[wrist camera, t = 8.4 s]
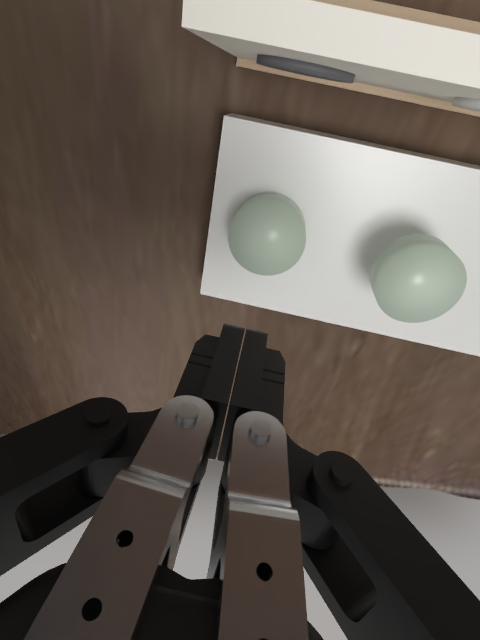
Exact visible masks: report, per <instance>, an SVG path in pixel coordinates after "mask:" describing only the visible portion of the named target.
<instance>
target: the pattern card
mask: <svg viewBox="0 0 480 640" xmlns="http://www.w3.org/2000/svg"><path fill="white" fill-rule="evenodd" d="M181 27H183V28H185V29H187V30H188V31H190V32H192V33H194V34H196V35H197V36H199V37H201V38H203V39H205V40H206V41H208V42H210V43H212V44H214V45H216V46H217V47H219V48H221V49H223V50H225V51H226V52H228V53H230V54H232V55H234V56H235V57H237V63H236V66H238V67H242V68H247V69H252V70H256V71H261V72H266V73H271V74H275V75H280V76H285V77H290V78H295V79H299V80H304V81H309V82H314V83H318V84H323V85H328V86H333V87H337V88H342V89H347V90H352V91H357V92H361V93H366V94H371V95H376V96H380V97H385V98H390V99H395V100H400V101H404V102H409V103H414V104H419V105H423V106H428V107H433V108H438V109H442V110H447V111H452V112H457V113H462V114H466V115H471V116H476V117H480V22H476V21H471V20H466V19H461V18H456V17H451V16H446V15H441V14H437V13H432V12H427V11H422V10H417V9H412V8H407V7H402V6H397V5H392V4H387V3H383V2H378V1H373V0H183V12H182V26H181Z"/></svg>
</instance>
